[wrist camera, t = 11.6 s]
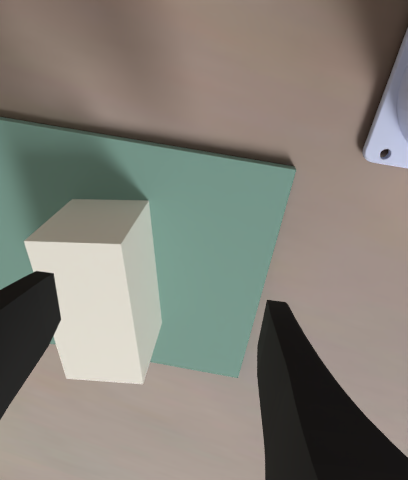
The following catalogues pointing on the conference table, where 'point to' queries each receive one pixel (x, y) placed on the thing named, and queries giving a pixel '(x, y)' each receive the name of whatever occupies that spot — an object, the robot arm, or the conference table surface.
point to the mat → (157, 226)
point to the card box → (102, 287)
